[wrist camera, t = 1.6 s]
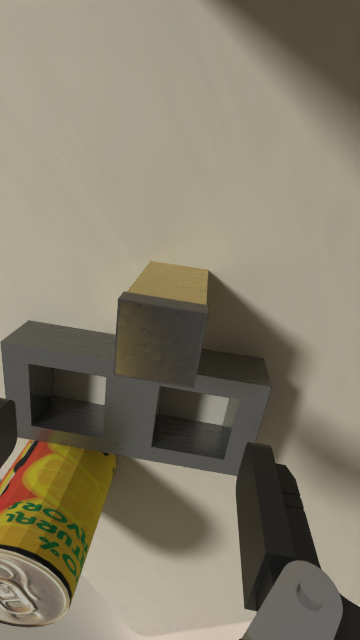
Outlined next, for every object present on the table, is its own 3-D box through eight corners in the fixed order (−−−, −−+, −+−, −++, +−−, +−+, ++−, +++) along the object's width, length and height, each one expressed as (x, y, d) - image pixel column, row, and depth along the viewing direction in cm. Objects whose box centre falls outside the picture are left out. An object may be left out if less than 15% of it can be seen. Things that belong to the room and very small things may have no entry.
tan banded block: (149, 259, 25) (118, 298, 17) (209, 268, 25) (208, 313, 17) (143, 314, 27) (113, 375, 19) (199, 324, 27) (194, 388, 18)
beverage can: (87, 409, 31) (19, 534, 20) (132, 475, 34) (94, 617, 23) (13, 435, 33) (-86, 561, 22) (61, 495, 36) (-6, 634, 25)
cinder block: (28, 320, 28) (0, 341, 24) (263, 359, 27) (271, 387, 24) (32, 405, 32) (9, 435, 28) (240, 442, 31) (244, 477, 27)
